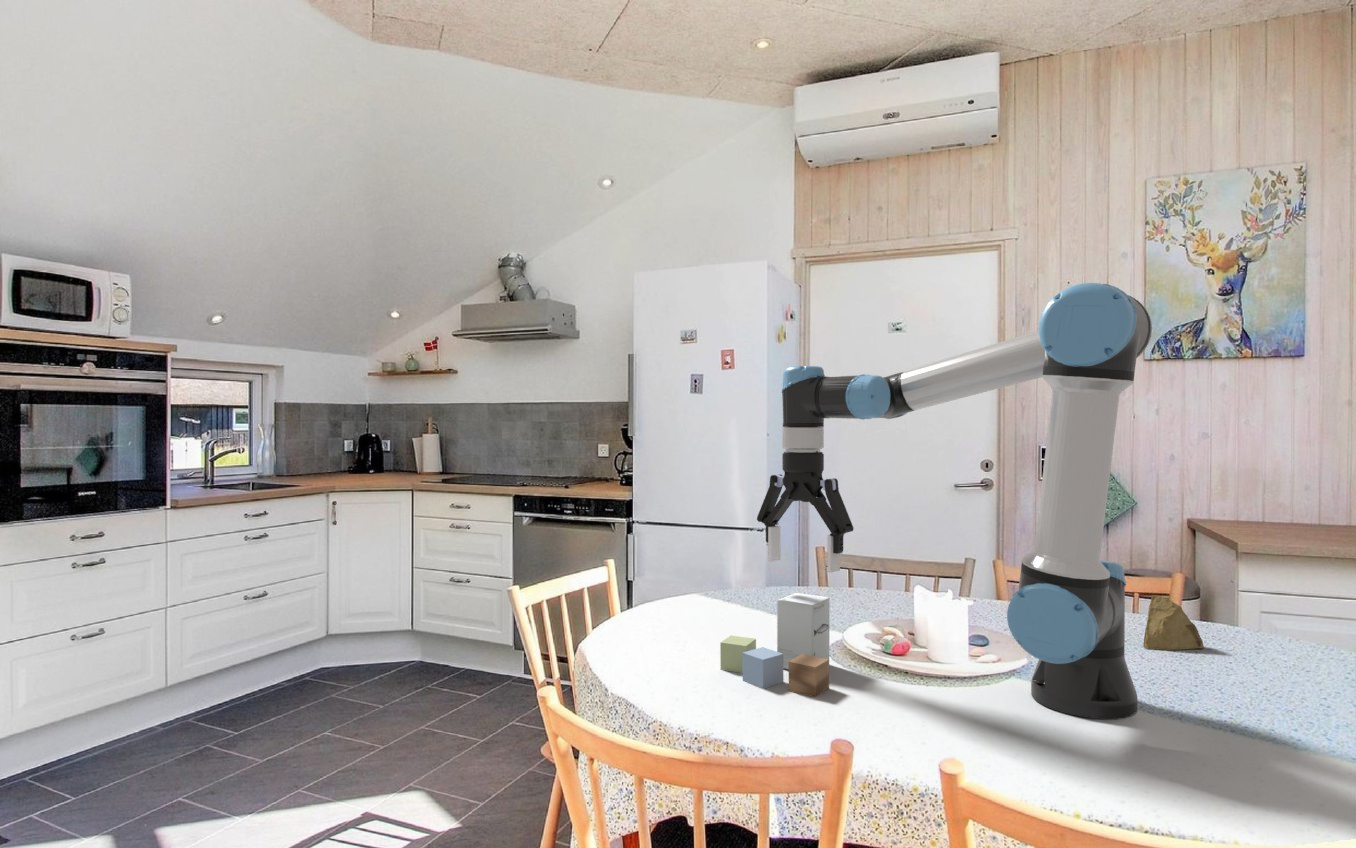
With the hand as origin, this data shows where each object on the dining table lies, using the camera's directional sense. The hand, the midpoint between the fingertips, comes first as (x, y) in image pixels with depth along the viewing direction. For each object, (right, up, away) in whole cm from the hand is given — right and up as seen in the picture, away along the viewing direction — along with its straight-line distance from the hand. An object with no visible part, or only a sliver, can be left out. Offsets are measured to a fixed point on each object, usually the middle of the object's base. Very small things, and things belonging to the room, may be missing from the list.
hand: (803, 566), depth 142 cm
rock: (+75, -18, +10) cm, 77 cm away
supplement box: (0, -19, 0) cm, 19 cm away
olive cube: (-12, -19, 0) cm, 22 cm away
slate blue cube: (-8, -19, -8) cm, 22 cm away
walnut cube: (-1, -19, -12) cm, 22 cm away
